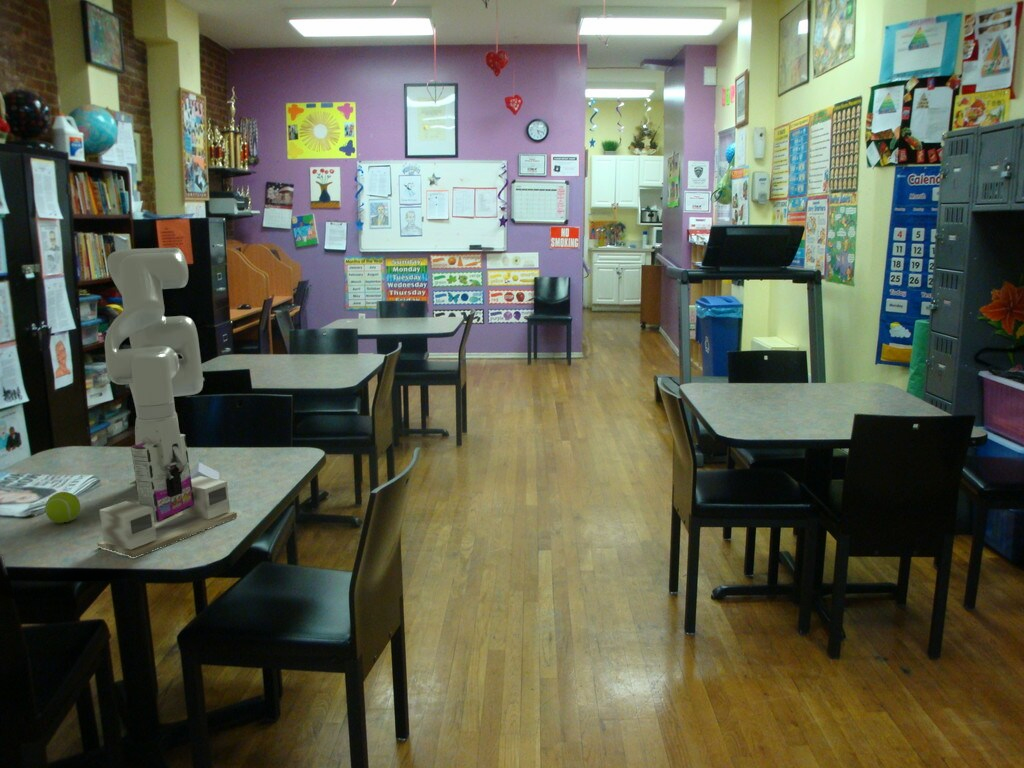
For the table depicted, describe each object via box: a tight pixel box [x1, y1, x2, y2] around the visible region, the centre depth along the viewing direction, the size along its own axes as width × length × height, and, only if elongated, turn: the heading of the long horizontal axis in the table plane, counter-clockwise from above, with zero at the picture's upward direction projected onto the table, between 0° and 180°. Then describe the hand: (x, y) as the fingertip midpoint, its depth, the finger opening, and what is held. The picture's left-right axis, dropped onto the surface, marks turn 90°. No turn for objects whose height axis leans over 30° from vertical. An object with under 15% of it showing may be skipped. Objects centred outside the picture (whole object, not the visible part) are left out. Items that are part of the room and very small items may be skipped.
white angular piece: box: [190, 462, 220, 480], centre depth 206 cm, size 9×7×13 cm
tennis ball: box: [44, 491, 81, 524], centre depth 190 cm, size 7×7×7 cm
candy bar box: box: [130, 433, 194, 522], centre depth 180 cm, size 11×5×16 cm, turn 159°
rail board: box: [97, 476, 238, 557], centre depth 181 cm, size 12×26×8 cm, turn 148°
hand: (165, 492), depth 180 cm, fingers closed on candy bar box, 5 cm apart
